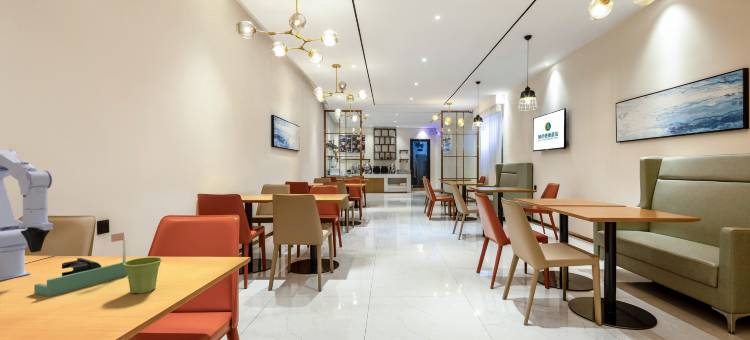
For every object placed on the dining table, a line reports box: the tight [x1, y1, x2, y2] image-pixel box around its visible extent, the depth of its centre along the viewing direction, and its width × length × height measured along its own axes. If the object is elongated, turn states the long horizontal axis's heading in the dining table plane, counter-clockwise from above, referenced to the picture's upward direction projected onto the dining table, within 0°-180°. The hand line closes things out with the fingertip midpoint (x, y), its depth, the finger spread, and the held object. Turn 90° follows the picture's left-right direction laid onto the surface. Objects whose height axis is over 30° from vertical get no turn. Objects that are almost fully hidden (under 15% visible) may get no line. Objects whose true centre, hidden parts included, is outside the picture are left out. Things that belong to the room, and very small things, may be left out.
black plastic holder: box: [61, 257, 102, 277], centre depth 111 cm, size 10×7×7 cm
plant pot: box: [123, 256, 163, 295], centre depth 103 cm, size 9×9×9 cm
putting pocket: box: [33, 231, 128, 297], centre depth 110 cm, size 7×22×14 cm, turn 159°
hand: (35, 251), depth 112 cm, fingers closed
